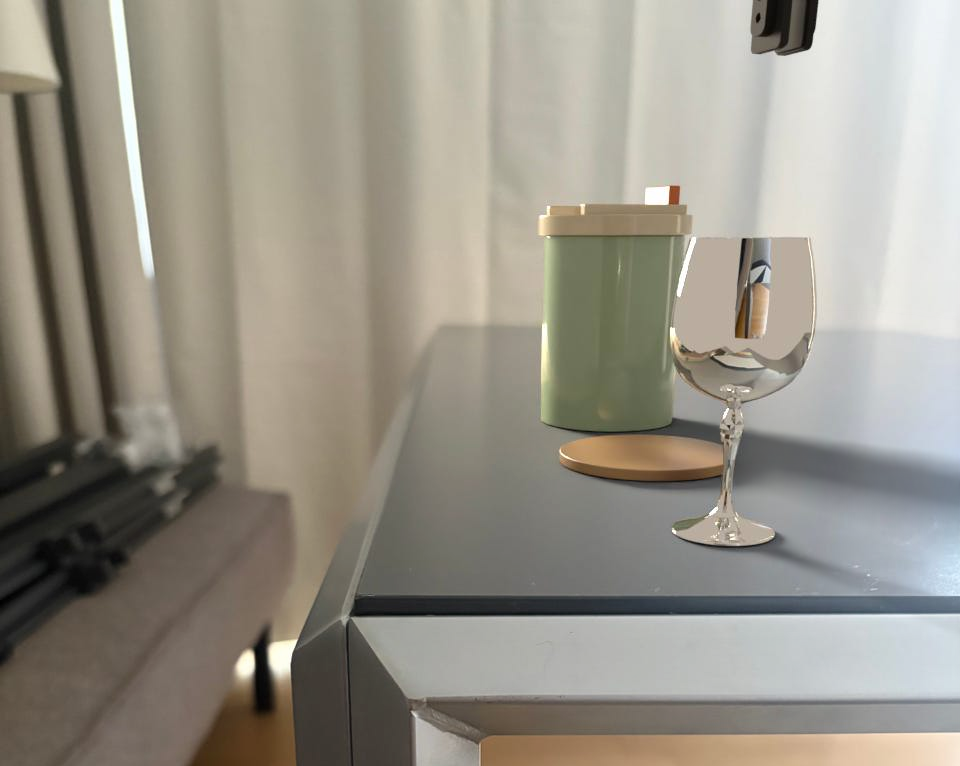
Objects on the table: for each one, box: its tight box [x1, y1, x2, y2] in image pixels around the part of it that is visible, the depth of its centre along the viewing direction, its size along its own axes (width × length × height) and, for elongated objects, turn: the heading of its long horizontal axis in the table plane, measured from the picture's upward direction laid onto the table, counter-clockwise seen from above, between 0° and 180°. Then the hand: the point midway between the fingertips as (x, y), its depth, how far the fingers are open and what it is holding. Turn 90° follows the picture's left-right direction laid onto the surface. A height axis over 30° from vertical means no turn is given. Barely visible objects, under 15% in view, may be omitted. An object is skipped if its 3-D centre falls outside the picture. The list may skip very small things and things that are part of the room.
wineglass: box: [669, 236, 818, 547], centre depth 41 cm, size 6×6×12 cm
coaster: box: [558, 434, 737, 482], centre depth 57 cm, size 10×10×1 cm
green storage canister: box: [537, 203, 694, 433], centre depth 67 cm, size 10×10×14 cm
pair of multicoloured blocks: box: [644, 185, 681, 205], centre depth 65 cm, size 4×4×2 cm
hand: (780, 50), depth 65 cm, fingers closed
